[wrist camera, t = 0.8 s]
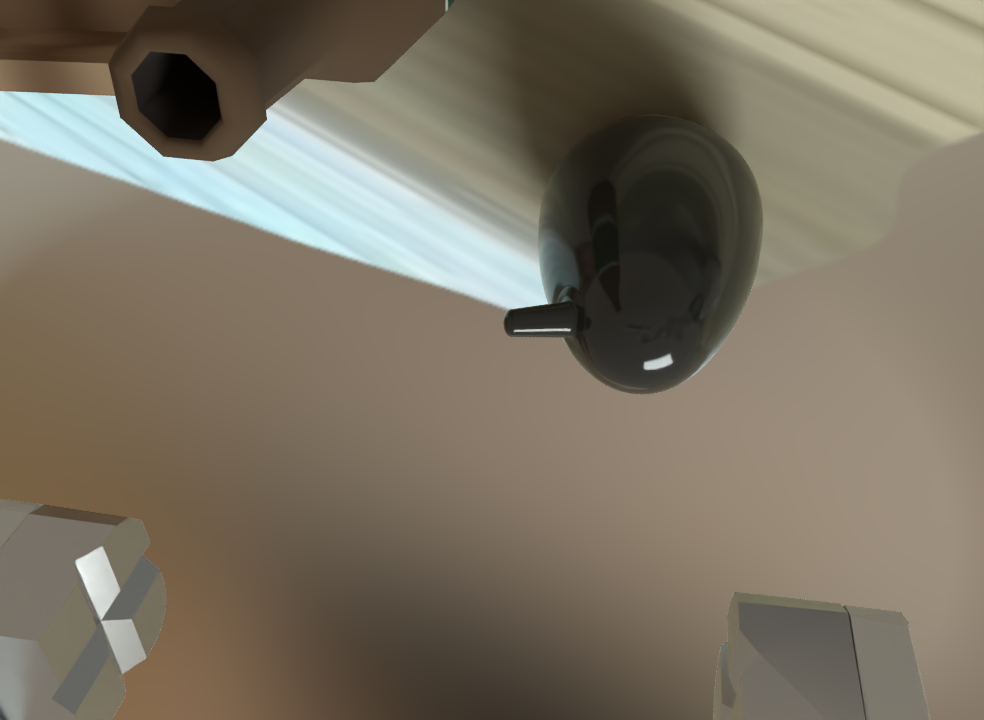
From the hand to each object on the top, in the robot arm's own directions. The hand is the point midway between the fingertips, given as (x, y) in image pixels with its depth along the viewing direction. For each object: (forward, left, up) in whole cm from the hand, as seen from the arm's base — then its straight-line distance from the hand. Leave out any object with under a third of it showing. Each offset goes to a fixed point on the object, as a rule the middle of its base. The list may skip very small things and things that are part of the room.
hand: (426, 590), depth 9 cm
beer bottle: (+9, 0, -37) cm, 38 cm away
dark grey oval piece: (-2, +13, -37) cm, 40 cm away
